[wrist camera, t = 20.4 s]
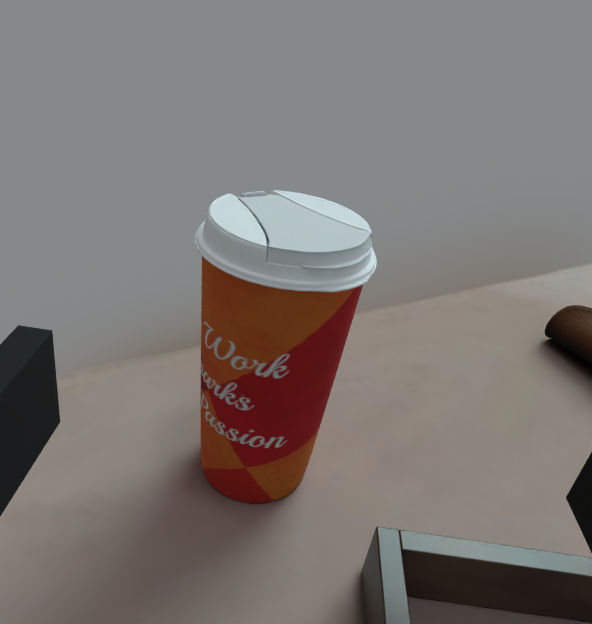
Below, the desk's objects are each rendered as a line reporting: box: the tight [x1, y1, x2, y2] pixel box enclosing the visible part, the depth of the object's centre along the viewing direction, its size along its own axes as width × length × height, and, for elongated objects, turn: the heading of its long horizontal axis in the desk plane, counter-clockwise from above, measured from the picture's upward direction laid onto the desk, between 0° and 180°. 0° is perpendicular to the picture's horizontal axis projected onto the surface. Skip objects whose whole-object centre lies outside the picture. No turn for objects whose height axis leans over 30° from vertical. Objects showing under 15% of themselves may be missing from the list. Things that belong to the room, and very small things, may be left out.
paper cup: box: [195, 190, 377, 503], centre depth 26 cm, size 8×8×14 cm
